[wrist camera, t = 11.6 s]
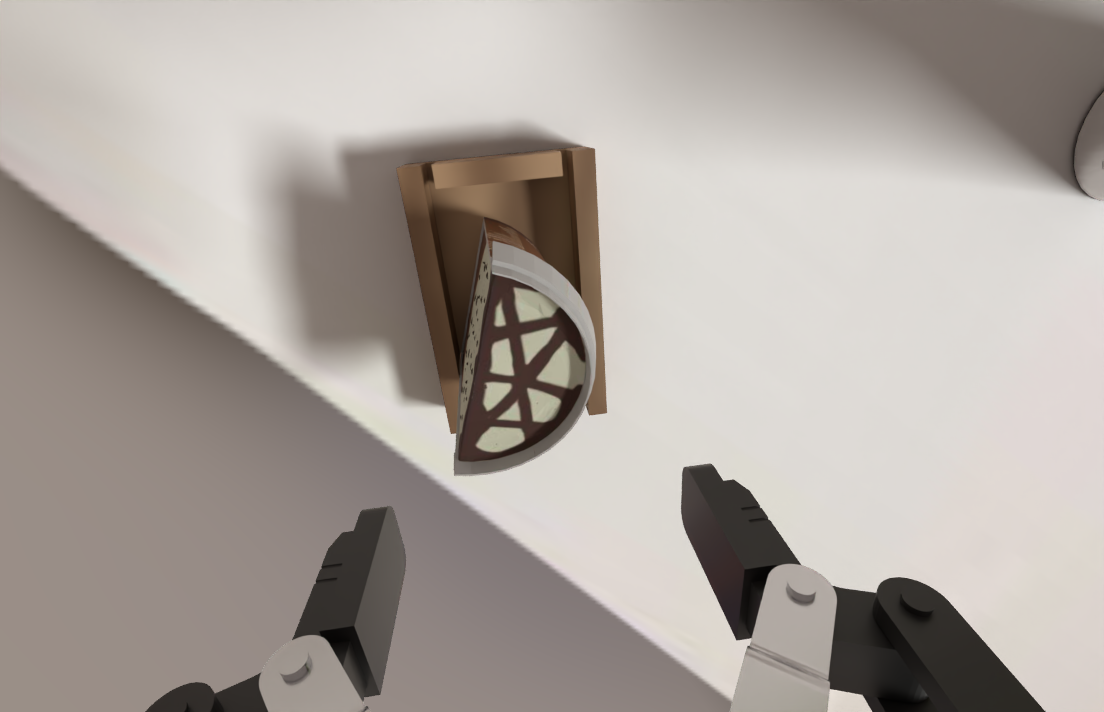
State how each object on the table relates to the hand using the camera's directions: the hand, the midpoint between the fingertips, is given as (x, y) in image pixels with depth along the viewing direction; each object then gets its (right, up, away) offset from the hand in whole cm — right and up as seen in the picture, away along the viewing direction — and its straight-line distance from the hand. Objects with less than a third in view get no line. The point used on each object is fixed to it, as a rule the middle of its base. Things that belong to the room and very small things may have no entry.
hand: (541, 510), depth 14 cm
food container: (-2, +8, +18) cm, 20 cm away
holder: (-2, +9, +19) cm, 21 cm away
